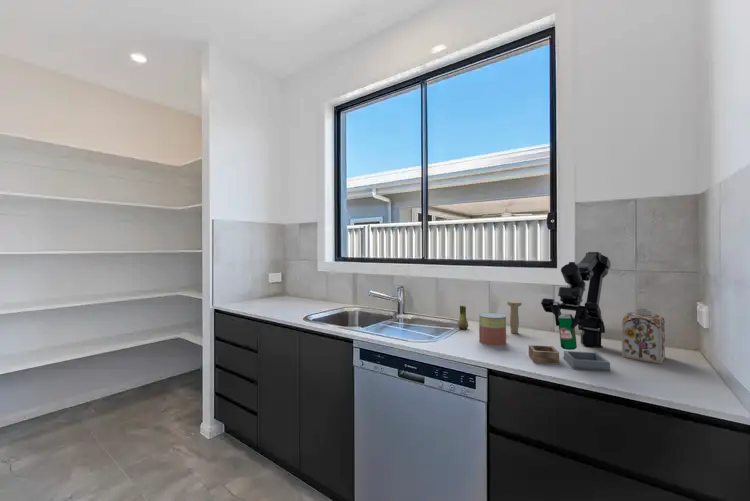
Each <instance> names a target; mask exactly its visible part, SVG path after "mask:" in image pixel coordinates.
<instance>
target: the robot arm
mask: <svg viewBox="0 0 750 501" xmlns="http://www.w3.org/2000/svg"><path fill="white" fill-rule="evenodd" d="M611 265H612V264H611V260H610V259H609V257H608V256H606V255H603V254H602V253H601V252H599V251H588V252H586V253H585V256H584V257H583V258H582V260H580V262H578V263H576V262H575V261H569V262H568V264H567V263H566V264H565V265H563V266H562V267H561V269H560V272H561V274H562V278H563V279H564V283H566V284H567V286H566V287H564V286H559V287H558V294H557V296H559V297H560V299H559V301H560V302H561V303H560V302H559V301H555V299H554V298H546V297H545V298H542V299H541V302H540V304H541V307H542V308H543V310H544V312H546V313H552V314H553V315H554V320H555V326H556V327H559V325H558V316H559V314H562V312H561V310H564V311H572V312H575V314H574V316H573V318H574V319H573V322H572V326H571V327H572V329H573V328H575V329H576V327H577V326H578V330H579V331H581V332H580V344H581V345H583V346H584V347H587V348H604V346H603V345H602V334H605V333H606V325H605V323H604V320H603V316H602V311H601V308H600V302H601V301H600V300H601V294H602V285H603V280H604V278H605V277H607V275H608V274H609V269H611ZM586 282H589V283H588V288H587V289H588V291H587V294H586V302H584V305H581V303H582V302H583V300H584V299H583V297H584V296H583V295H584V292H585V291H586V286H587V285H586V284H587V283H586Z"/></svg>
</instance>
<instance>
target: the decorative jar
mask: <svg viewBox="0 0 750 501" xmlns="http://www.w3.org/2000/svg"><path fill="white" fill-rule="evenodd" d="M665 323H666V321H665V318H664V317H663V316H662V315H659V314H657V313H652V310H651V309H648V308H635V311H633V312H626V313H624V314H623V318H622V321H621V327H622V328H621V356H622V358H625V359H631V360H636V361H640V362H641V361H642V362H648V363H653V364H657V365H658V364H659V365H662V363H663V361H664V360H665V358H666V332H665V331H666V330H665V329H666V328H665V327H666V325H665Z"/></svg>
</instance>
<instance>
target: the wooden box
mask: <svg viewBox="0 0 750 501" xmlns="http://www.w3.org/2000/svg"><path fill="white" fill-rule="evenodd" d="M528 356H529V358H530V360H531V361H532V363H538V364H551V365H552V364H553V365H560V352H559V351H558V350H557V348H555V347H554V346H553V345H538V344H537V345H535V344H528Z"/></svg>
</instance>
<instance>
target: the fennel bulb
mask: <svg viewBox="0 0 750 501" xmlns="http://www.w3.org/2000/svg"><path fill="white" fill-rule="evenodd" d="M468 327H469V322H468V319H467V307H466V305H462V304H460V305H459V318H458V328H459V329H461V330H467V328H468Z"/></svg>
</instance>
